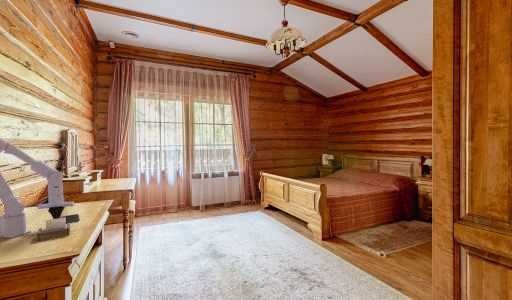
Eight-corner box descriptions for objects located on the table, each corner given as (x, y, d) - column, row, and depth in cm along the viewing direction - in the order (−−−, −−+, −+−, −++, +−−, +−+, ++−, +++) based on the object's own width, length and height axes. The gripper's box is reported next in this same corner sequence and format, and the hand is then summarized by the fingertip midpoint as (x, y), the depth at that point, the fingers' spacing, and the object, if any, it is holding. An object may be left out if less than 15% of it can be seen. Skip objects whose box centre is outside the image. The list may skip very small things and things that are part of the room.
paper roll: (46, 232, 112) (45, 221, 111) (47, 229, 116) (46, 219, 116) (65, 228, 116) (65, 218, 116) (66, 226, 120) (65, 216, 120)
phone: (60, 223, 122) (60, 216, 134) (60, 225, 122) (61, 218, 134) (79, 219, 127) (78, 213, 139) (79, 222, 127) (78, 215, 139)
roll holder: (39, 235, 107) (39, 228, 107) (69, 230, 114) (69, 222, 113) (37, 241, 101) (37, 232, 101) (69, 234, 108) (68, 227, 108)
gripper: (33, 197, 114) (34, 226, 115) (69, 195, 118) (70, 222, 119) (41, 194, 121) (43, 221, 121) (75, 192, 125) (76, 218, 126)
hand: (57, 221), depth 121 cm, fingers closed
